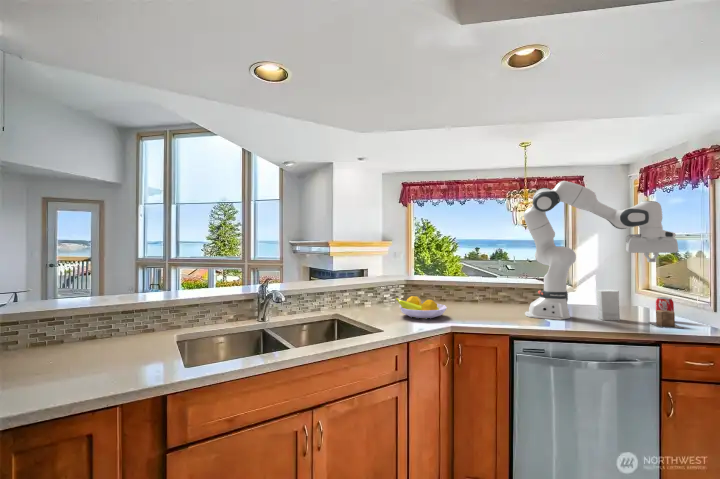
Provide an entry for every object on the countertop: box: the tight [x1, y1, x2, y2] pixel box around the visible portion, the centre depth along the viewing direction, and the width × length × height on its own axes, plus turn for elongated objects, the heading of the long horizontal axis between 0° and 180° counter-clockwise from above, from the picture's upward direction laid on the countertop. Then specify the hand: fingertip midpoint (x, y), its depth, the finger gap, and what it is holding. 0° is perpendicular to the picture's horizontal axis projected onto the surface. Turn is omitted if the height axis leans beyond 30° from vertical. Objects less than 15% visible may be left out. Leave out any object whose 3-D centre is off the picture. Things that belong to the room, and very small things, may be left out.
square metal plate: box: [648, 321, 685, 330], centre depth 172 cm, size 10×10×6 cm
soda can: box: [655, 296, 675, 313], centre depth 182 cm, size 7×7×12 cm
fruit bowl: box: [395, 295, 448, 319], centre depth 199 cm, size 28×27×11 cm
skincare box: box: [596, 289, 621, 322], centre depth 187 cm, size 8×7×16 cm
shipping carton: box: [655, 309, 676, 326], centre depth 172 cm, size 5×5×7 cm
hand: (651, 262), depth 172 cm, fingers closed
